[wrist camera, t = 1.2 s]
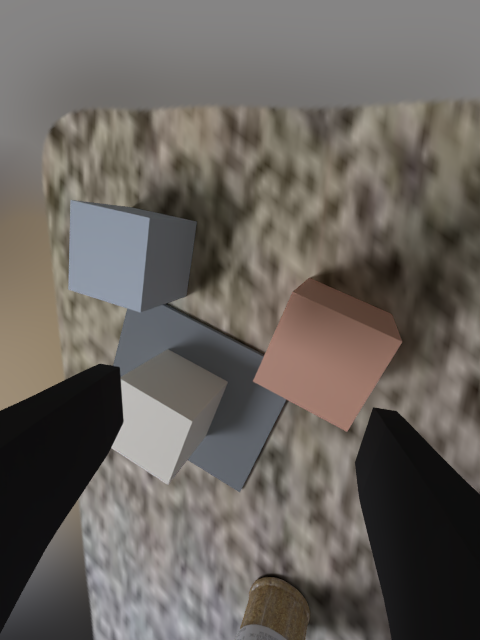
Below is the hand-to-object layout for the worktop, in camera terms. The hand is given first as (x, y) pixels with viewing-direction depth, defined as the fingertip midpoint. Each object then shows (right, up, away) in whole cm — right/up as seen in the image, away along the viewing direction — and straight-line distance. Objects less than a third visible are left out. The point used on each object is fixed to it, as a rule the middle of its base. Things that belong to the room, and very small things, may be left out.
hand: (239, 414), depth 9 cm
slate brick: (-5, +7, +11) cm, 14 cm away
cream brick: (-4, -2, +13) cm, 13 cm away
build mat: (-3, -2, +13) cm, 14 cm away
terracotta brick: (+5, +2, +9) cm, 10 cm away
